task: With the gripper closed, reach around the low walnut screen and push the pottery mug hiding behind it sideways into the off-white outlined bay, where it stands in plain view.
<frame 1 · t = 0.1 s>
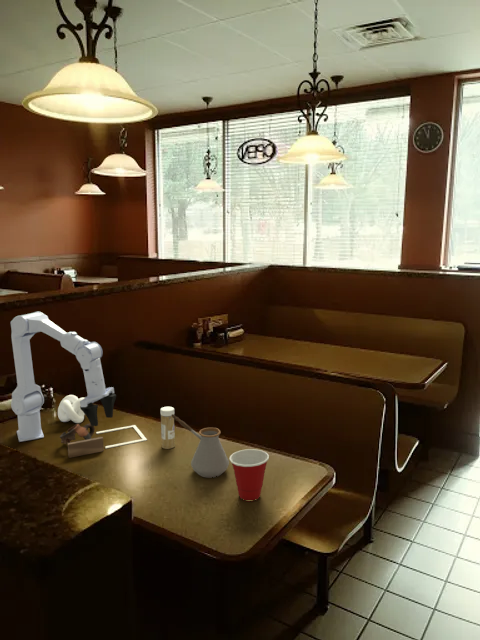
hand: (102, 421, 168), 10 cm above the table, tool pointing down, fingers open, 7 cm apart
coffee pot: (197, 467, 159), on the table
white knot: (76, 420, 196), on the table
plastic cup: (248, 496, 143), on the table
pottery mug: (80, 445, 175), on the table
bay outline: (119, 436, 181), on the table
sprinkles bottle: (168, 446, 174), on the table
walnut screen: (86, 453, 168), on the table
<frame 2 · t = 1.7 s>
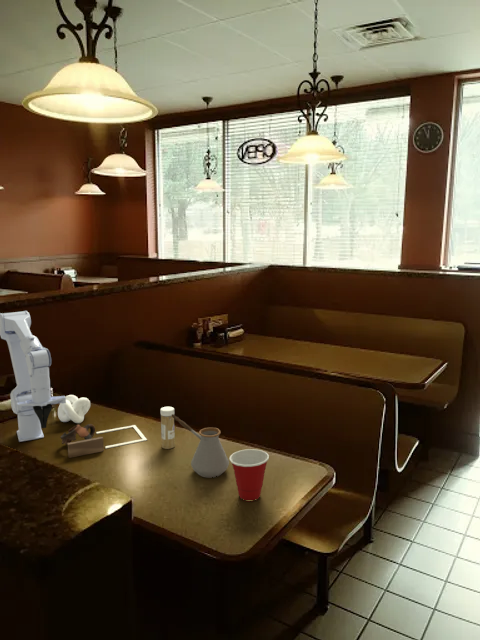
hand: (43, 427, 168), 8 cm above the table, tool pointing down, fingers closed
nothing on the table moved.
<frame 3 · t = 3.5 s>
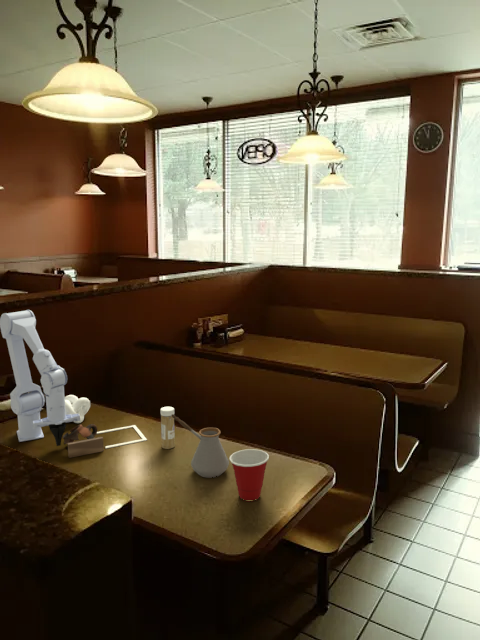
hand: (58, 444, 171), 1 cm above the table, tool pointing down, fingers closed
pottery mug: (82, 446, 174), on the table, touching gripper
everything else where it was.
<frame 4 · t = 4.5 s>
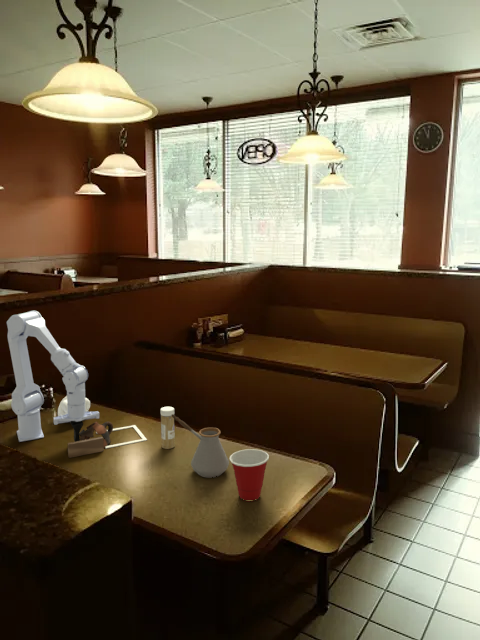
hand: (77, 440, 175), 1 cm above the table, tool pointing down, fingers closed, pressing on pottery mug
pottery mug: (98, 443, 177), on the table, touching bay outline, gripper
everything else where it was.
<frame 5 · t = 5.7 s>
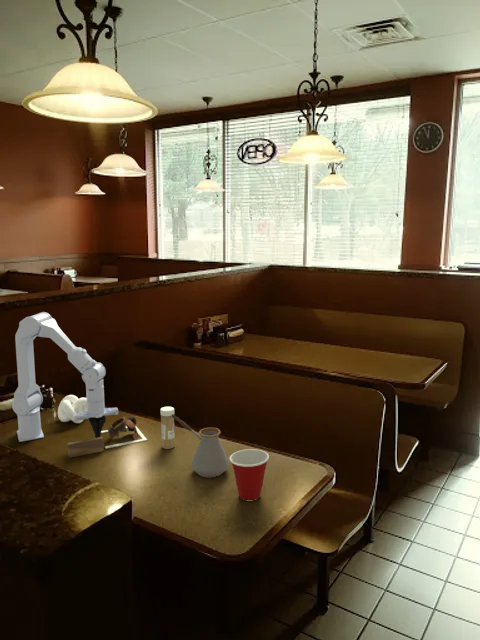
hand: (97, 437, 177), 1 cm above the table, tool pointing down, fingers closed
pottery mug: (125, 437, 181), on the table
everything else where it was.
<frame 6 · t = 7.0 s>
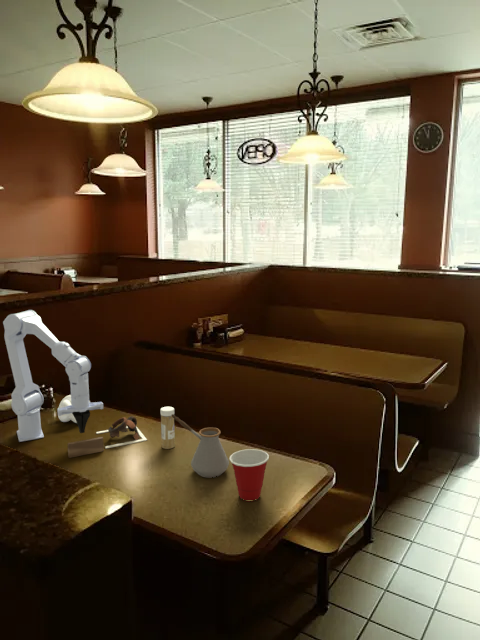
hand: (81, 431, 175), 4 cm above the table, tool pointing down, fingers closed
nothing on the table moved.
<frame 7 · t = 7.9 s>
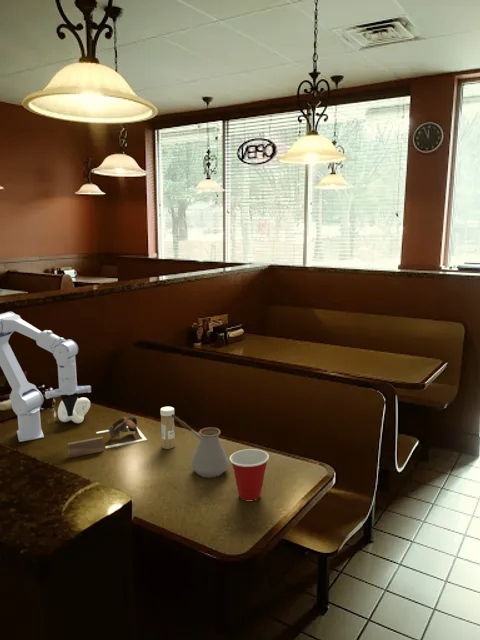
hand: (69, 415, 176), 9 cm above the table, tool pointing down, fingers closed
nothing on the table moved.
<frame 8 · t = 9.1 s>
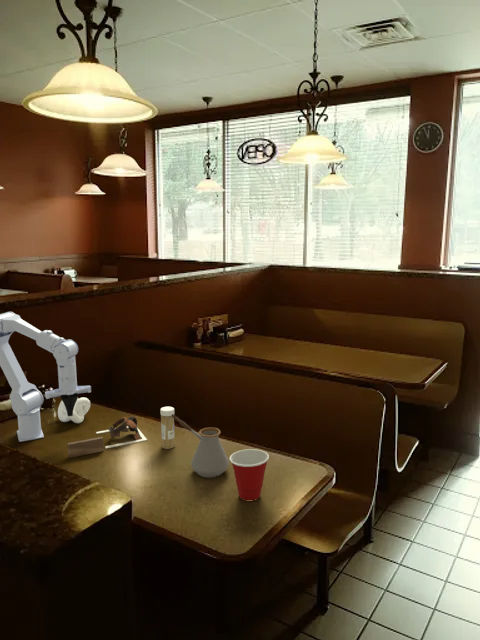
hand: (69, 415, 176), 9 cm above the table, tool pointing down, fingers closed
nothing on the table moved.
at the end: pottery mug inside the target area (3.0 cm from its centre), on the table; pottery mug tilted 0°; pottery mug moved 15.9 cm from its start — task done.
